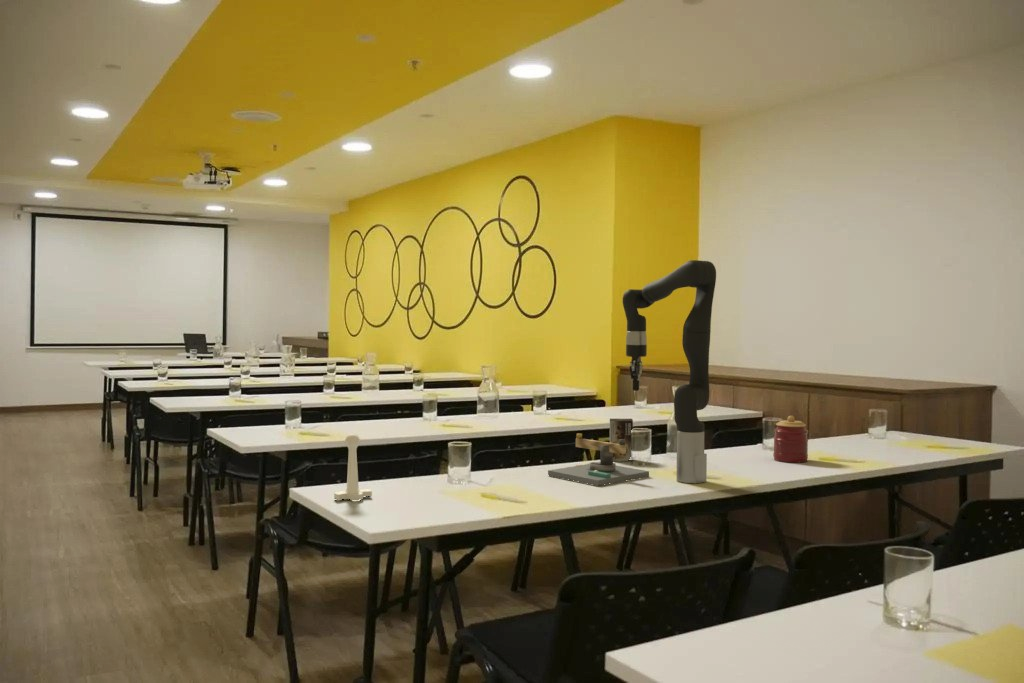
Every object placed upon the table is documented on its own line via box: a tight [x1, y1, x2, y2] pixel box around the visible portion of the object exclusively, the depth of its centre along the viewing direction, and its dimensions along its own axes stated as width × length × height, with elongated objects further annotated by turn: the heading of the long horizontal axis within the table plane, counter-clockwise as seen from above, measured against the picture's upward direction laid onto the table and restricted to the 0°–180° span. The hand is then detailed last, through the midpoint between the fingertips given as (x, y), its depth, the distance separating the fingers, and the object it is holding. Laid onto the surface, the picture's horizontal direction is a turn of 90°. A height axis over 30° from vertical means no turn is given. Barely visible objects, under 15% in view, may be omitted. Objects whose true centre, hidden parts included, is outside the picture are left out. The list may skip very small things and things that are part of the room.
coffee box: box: [609, 418, 634, 462], centre depth 334 cm, size 9×6×16 cm
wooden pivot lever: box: [575, 432, 626, 472], centre depth 302 cm, size 22×9×12 cm, turn 43°
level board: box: [547, 463, 650, 486], centre depth 300 cm, size 24×26×4 cm
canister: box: [773, 415, 809, 464], centre depth 335 cm, size 13×13×18 cm
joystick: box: [333, 433, 373, 501], centre depth 261 cm, size 11×8×20 cm
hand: (636, 390), depth 315 cm, fingers closed
